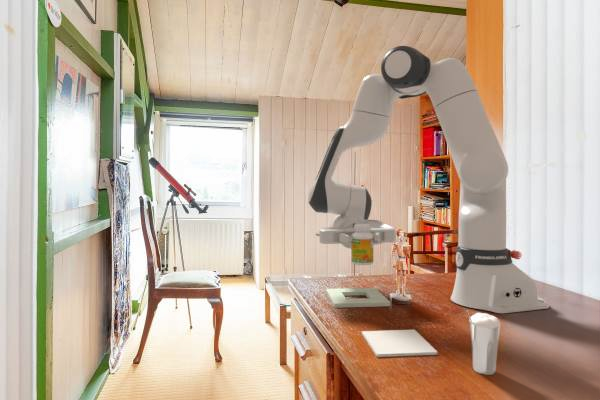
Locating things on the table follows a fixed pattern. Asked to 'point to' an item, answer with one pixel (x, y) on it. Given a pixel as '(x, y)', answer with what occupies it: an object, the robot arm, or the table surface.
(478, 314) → the milkshake
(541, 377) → the table surface
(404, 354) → the mat
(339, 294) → the well board
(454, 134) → the robot arm
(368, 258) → the supplement bottle
